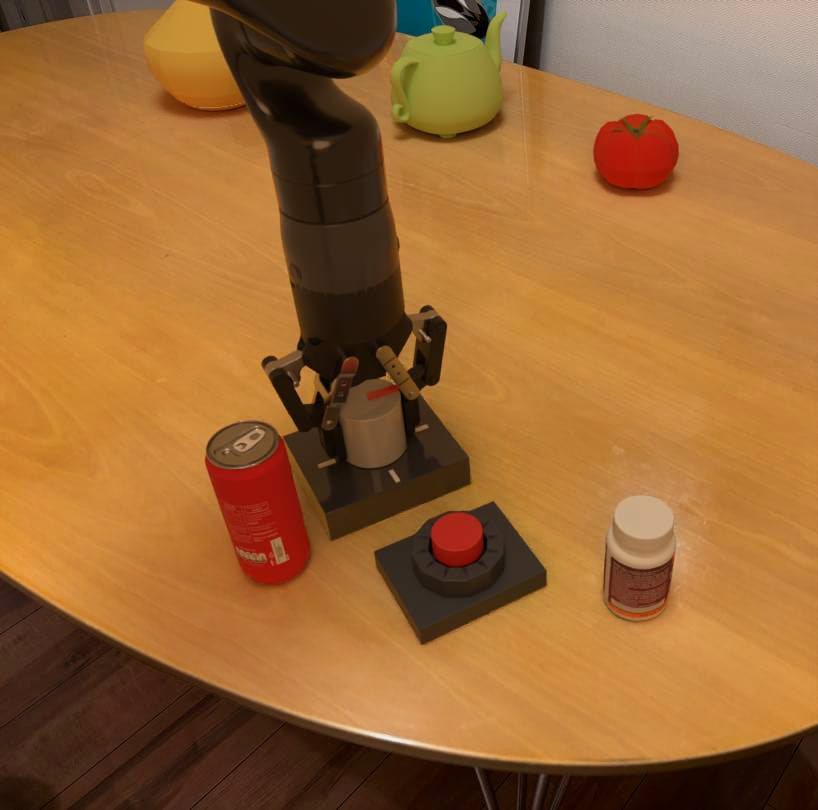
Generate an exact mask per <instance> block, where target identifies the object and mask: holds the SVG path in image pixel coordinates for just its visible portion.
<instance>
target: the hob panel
mask: <svg viewBox="0 0 818 810" xmlns="http://www.w3.org/2000/svg"><path fill="white" fill-rule="evenodd" d="M418 401H419V410H420V423H419V425H417V426H415V433H413V434H411V435H408V436H407V435H406V439H407V446H406V449H405V451H404V453H403V454H402V455H401V456H400V457H399V458H398V459H397V460H396V461H394V462H393V463H391V464H388V465H386V466H382V467H378V468H362V467H358V466H355V465H353V464H351V463H349V462H348V461H347V460H346V459H345V460H343V461H340V462H338V461H337V460H336V458H335V457H333V458H330V457H329V456H328V455H327V454H326V452H325V450H324V449H323V447H322V446H321V444H320V439H319V434H318V430H317V428H316V427H313V428H312V429H311V430H310V431H308V432H304V433H303V432H300V431H298V430H296V431H293V432H291V433H288V434H284V435H282V438H283V440H284V442H285V446H286V450H287V454H288V458H289V462H290V466H291V470H292V472H294V474H295V476H296V478H297V480H298V482H299V484H300V485H301V488H302V489H303V491H304V493H305V495H306V496H307V499H308V501H309V502H310V504H311V506H312V508H313V510H314V512H315V514H316V515H317V517H318V519H319V521H320V522H321V525H322V526H323V528H324V530H325V532H326V534H327V536H328V537H329V539H330V541H334V540H337V539H339V538H341V537H344V536H347V535H349V534H351V533H354V532H356V531H359V530H362V529H363V528H366V527H369V526H371V525H373V524H376V523H378V522H380V521H381V522H382V521H383V520H386V519H388V518H391V517H393V516H395V515H398V514H400V513H403V512H405V511H407V510H410V509H412V508H415V507H418V506H420V505H422V504H425V503H427V502H430V501H431V500H435V499H437V498H439V497H442V496H444V495H446V494H449V493H452V492H454V491H456V490H459V489H461V488H464V487H466V486H469V485H471V484H472V480H471V478H472V477H471V466H470V457H469V455H468V454H467V453H466V451H465V449H463V447H462V446H461V444H460V443H459V442H458V441H457V439H456V438H455V437H454V435H453V434H452V433H451V432H450V430H449V429H448V428H447V427H446V425H445V424H444V422H443V421H442V420H441V419H440V417H439V416H438V415H437V413H436V412H435V411H434V409H432V407H431V406H430V405H429V403H428V402H427V401H426V399H425V398H424V396H423V395H422V394H421V393H420V394H419V396H418Z"/></svg>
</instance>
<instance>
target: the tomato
mask: <svg viewBox="0 0 818 810" xmlns="http://www.w3.org/2000/svg"><path fill="white" fill-rule="evenodd" d="M652 118H654V115H653V116H649V115H646V114H641V113H634V114H633V113H632V114H628V115H625V116H624V117H621V118H620V117H619V119H618V120H611V121H607V122H605V124H603V125H602V126H601V127H600V128H599V130H598V133H597V135H596V136H595V140H594V143H593V150H592V155H593V162H594V165H595V168H596V171H597V172H599V174H601V175H602V177H603V179H604V180H605V181H606V182H608V183H609V184H611V186H614V187H618V188H621V189H638V190H646V189H651V188H655V187H657V186H659V185H661V184H663V183H664V182H666V180H667V179H668V177H669V176H670V174H671V173H672V172H673V170H674V169H675V167H676V166H677V164H678V160H679V157H680V150H679V147H680V145H679V143H678V141H677V137H676V136H675V132H674V130H673V129H672V128H671V127H670V125H668V123H667V122H665V121H664V120H663V119H658V118H654V119H652Z"/></svg>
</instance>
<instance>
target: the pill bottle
mask: <svg viewBox="0 0 818 810" xmlns="http://www.w3.org/2000/svg"><path fill="white" fill-rule="evenodd" d="M612 516H613V517H612V523H611V525H609V527H608V530H607V531H606V534H605V546H604V547H605V549H604V563H603V577H602V578H603V579H602V596H603V600H604V602H605V604H606V606H607V607H608V609H609V610H610V611H611V612H612V613H614V614H615V615H616V616H618V617H620V618H622V619H624V620H628V621H638V622H639V621H646V620H650V619H653V618H656V617H657V616H659V615H660V614H661V613H662V612H663V611H664V610H665V609H666V606H667V604H668V601H669V597H670V592H671V591H670V590H671V584H672V578H673V572H674V564H675V558H676V551H677V538H676V537H677V536H676V534H675V532H674V531H675V530H674V529H675V528H674V527H675V515H674V512H673V510H672V509H671V507H670V506H669V505H668V504H667V503H666V502H665V501H664V500H662V499H660V498H658V497H655V496H652V495H646V494H637V495H632V496H628V497H625V498H624V499H622V500H621V501H620V502H619V503H618V504H617V505H616V507H615V508H614V511H613V515H612Z"/></svg>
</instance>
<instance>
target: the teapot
mask: <svg viewBox="0 0 818 810" xmlns="http://www.w3.org/2000/svg"><path fill="white" fill-rule="evenodd" d="M507 15H508V12H507V11H500V12H499V13H497V14H495V16H494V17H492V19H491V20H490V22H489V24H488V26H487V30H486V35H485V40H484V42H483V41H482V40H481V39H480V38H478V37H476V36H474V35H472V34H467V33H465V32H462V31H456V28H455V27H453V26H451V25H446V24H445V25H443V24H442V25H441V24H440V25H437V26H434V27H432V28H431V32H429V33H424V34H422V35H419V36H416V37H414V38H412V39H410V40H408V41H407V43H406V44H405V45H404V47H403V49H402V51H401V54H400V56H399V58H398V59H397V60H396V61H395V62H394V63H393V65H392V66H391V69H390V72H389V78H390V79H389V80H390V84H391V89H390V102H391V109H390V115H391V118H392V120H394V121H395V122H396V123H405V124H406V125H408V126H410V127H411V128H412V129H413V128H414V129H415V130H418V131H420V132H425V133H429V134H433V135H438V136H439V137H440V138H443V139H452V138H455V137H457V134H460V133H464V132H469V131H472V130H473V131H474V130H476V129H479V128H481V127H484V126H485V125H487V124H488V123H490V122H491V121H492V120H493V119H494V118H495V117H496V115H497V114H498V113H499V111H500V110H501V108H502V107H503V105H504V101H505V98H504V97H505V96H504V87H503V83H502V78H501V74H500V72H501V70H502V61H503V60H502V58H503V57H502V47H501V29H502V25H503V23H504V21H505V19H506V18H507Z"/></svg>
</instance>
